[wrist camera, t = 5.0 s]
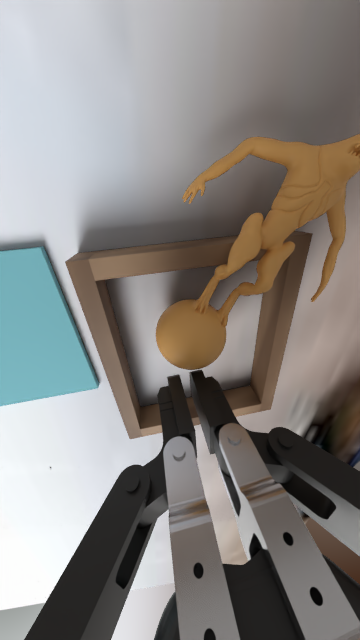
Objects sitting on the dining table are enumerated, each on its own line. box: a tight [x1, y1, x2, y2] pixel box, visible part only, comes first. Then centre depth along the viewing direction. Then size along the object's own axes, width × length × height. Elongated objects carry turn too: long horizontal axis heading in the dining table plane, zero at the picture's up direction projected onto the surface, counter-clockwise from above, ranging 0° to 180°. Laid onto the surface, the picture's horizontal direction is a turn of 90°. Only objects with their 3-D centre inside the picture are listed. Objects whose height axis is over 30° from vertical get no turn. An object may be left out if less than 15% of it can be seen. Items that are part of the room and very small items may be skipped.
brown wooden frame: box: [65, 231, 312, 439], centre depth 14 cm, size 12×14×2 cm
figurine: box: [156, 134, 360, 370], centre depth 10 cm, size 8×6×12 cm
